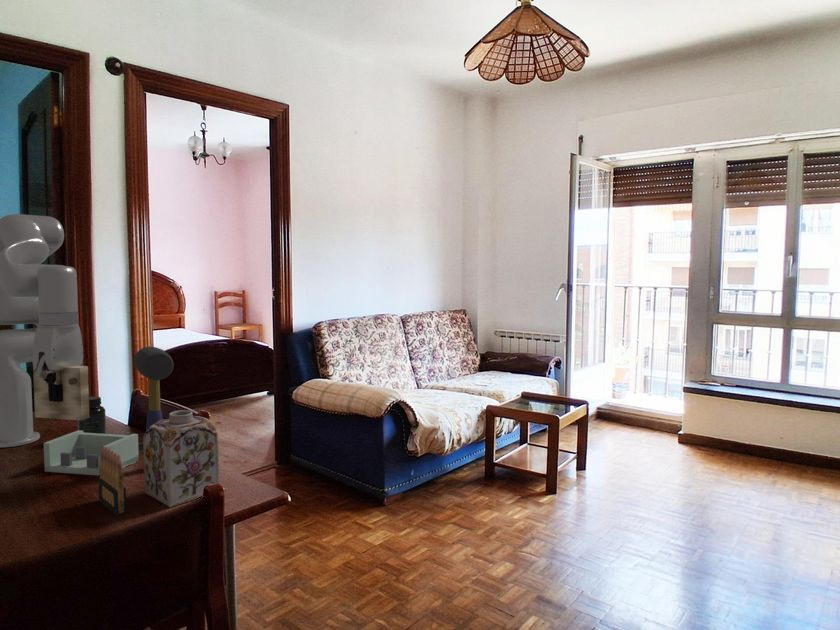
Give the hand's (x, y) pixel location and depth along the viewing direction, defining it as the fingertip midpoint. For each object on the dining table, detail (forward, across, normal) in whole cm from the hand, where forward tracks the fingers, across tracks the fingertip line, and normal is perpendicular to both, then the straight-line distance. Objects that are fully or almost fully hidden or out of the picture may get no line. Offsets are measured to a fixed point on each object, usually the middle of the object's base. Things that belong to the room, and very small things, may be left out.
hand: (61, 399), depth 128 cm
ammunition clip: (+19, +11, +21) cm, 31 cm away
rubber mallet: (+19, -11, +16) cm, 27 cm away
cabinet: (+19, -9, 0) cm, 21 cm away
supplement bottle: (+19, -28, -16) cm, 38 cm away
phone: (+20, -20, 0) cm, 28 cm away
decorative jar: (+19, +2, +31) cm, 37 cm away
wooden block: (+4, 0, 0) cm, 4 cm away
